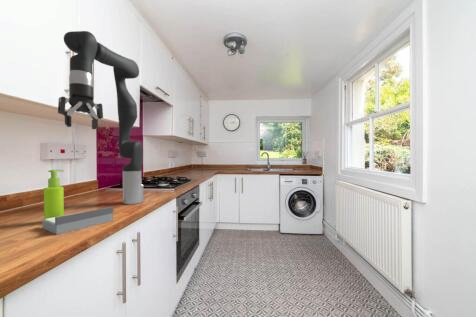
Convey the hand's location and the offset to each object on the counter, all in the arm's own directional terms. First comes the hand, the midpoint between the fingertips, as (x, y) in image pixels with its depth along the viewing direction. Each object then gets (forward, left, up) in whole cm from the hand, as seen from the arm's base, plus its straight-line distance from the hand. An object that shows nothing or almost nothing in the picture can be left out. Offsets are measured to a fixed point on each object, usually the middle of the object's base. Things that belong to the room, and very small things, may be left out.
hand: (82, 127), depth 84 cm
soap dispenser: (+5, -11, -36) cm, 38 cm away
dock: (+2, +2, -36) cm, 36 cm away
